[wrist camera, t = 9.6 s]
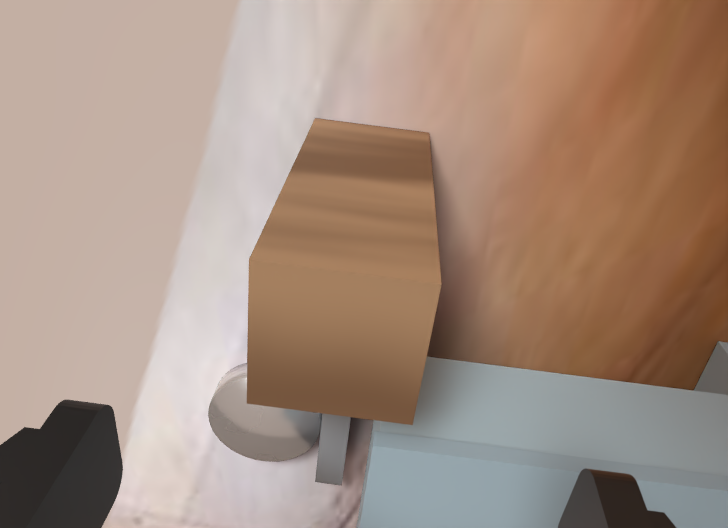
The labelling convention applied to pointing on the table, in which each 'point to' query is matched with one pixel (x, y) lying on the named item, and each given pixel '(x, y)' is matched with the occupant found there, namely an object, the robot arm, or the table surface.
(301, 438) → the silver metal disc
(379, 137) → the wood grain block
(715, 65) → the table surface
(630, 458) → the plinth shelf
